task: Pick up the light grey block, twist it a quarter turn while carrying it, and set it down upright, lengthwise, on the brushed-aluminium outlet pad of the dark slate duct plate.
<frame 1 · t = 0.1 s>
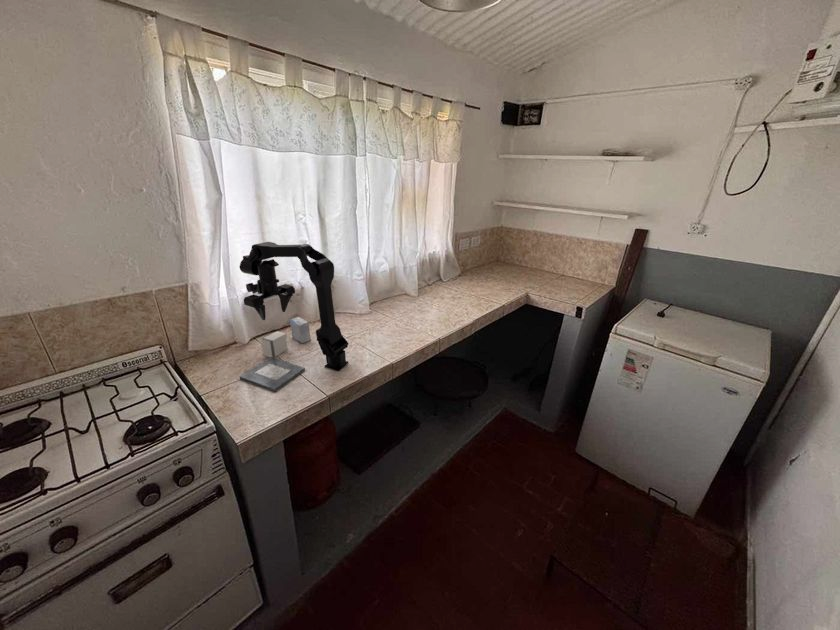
hand: (274, 315, 126), 14 cm above the worktop, fingers open, 9 cm apart
light grey block: (276, 352, 129), on the worktop
medicine box: (301, 339, 140), on the worktop
duct plate: (273, 374, 115), on the worktop
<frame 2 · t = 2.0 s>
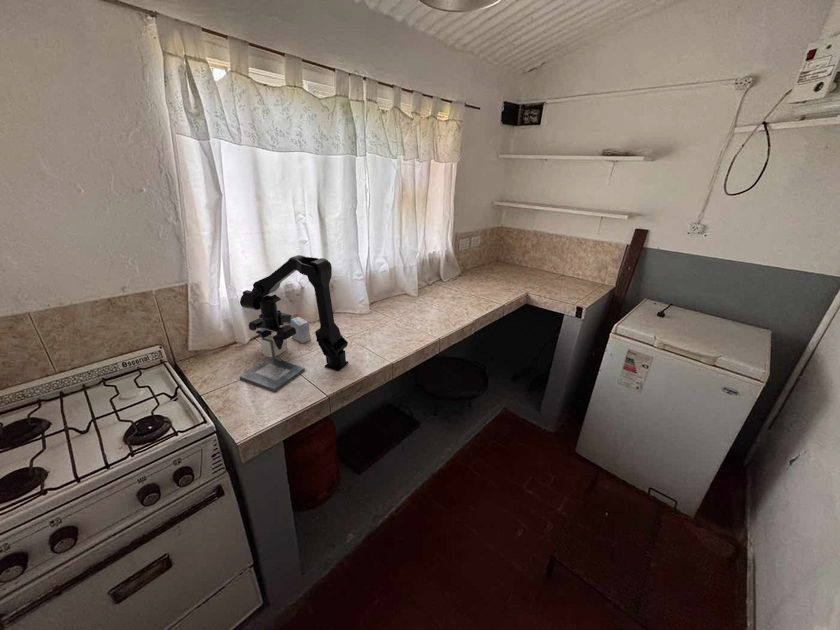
hand: (275, 347, 128), 2 cm above the worktop, fingers closed on light grey block, 4 cm apart
light grey block: (276, 352, 129), on the worktop, touching gripper
everything else where it was.
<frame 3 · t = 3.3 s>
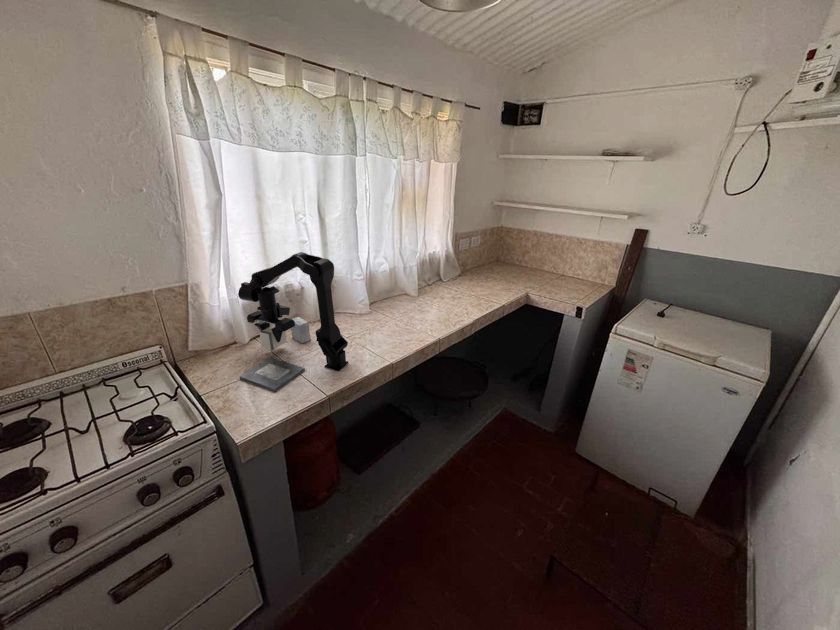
hand: (274, 340, 127), 5 cm above the worktop, fingers closed on light grey block, 4 cm apart
light grey block: (274, 345, 128), point 3 cm above the worktop, touching gripper
everything else where it was.
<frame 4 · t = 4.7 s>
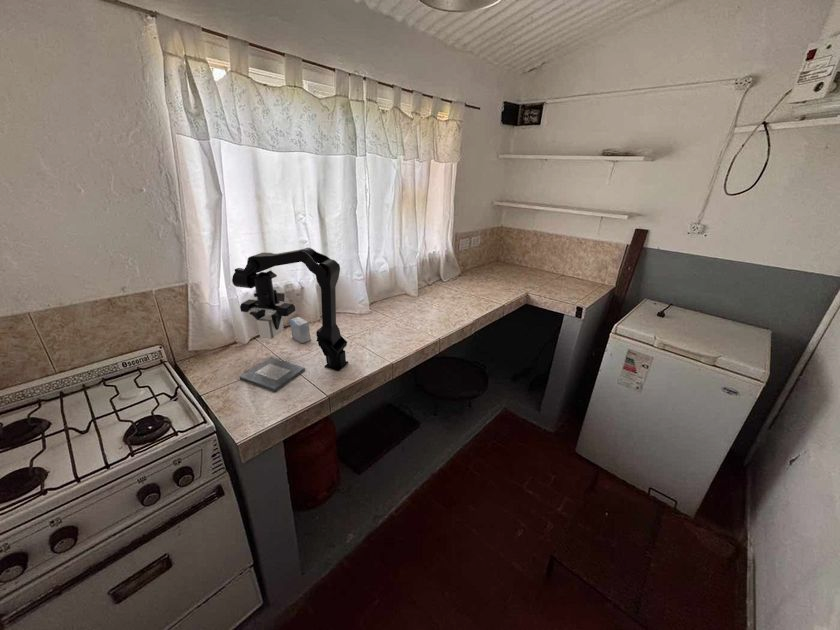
hand: (271, 328, 122), 12 cm above the worktop, fingers closed on light grey block, 4 cm apart
light grey block: (272, 333, 122), point 10 cm above the worktop, touching gripper
everything else where it was.
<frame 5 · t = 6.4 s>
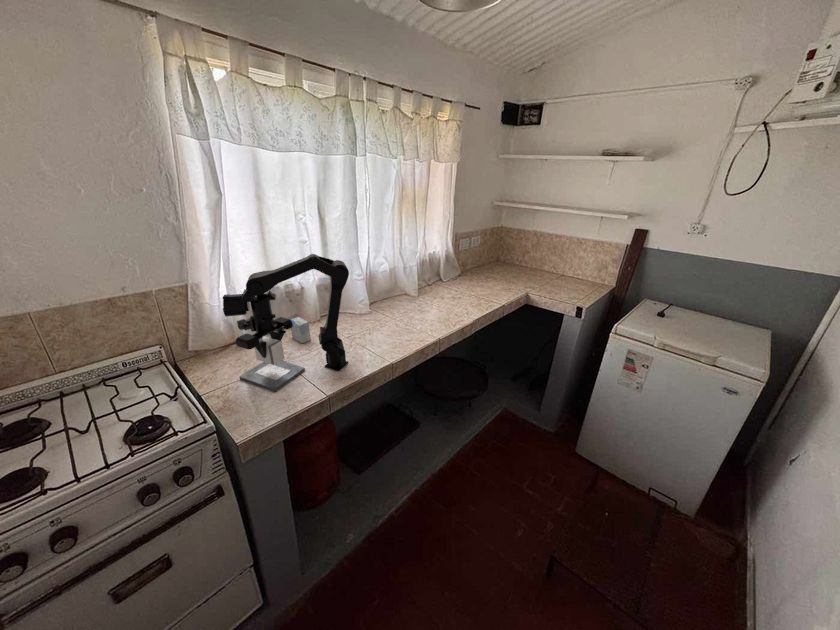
hand: (269, 354, 111), 8 cm above the worktop, fingers closed on light grey block, 4 cm apart
light grey block: (270, 359, 112), point 6 cm above the worktop, touching gripper
everything else where it was.
when the fingers open (4 cm above the worktop, at t = 7.8 s): light grey block drops 1 cm, resting on duct plate.
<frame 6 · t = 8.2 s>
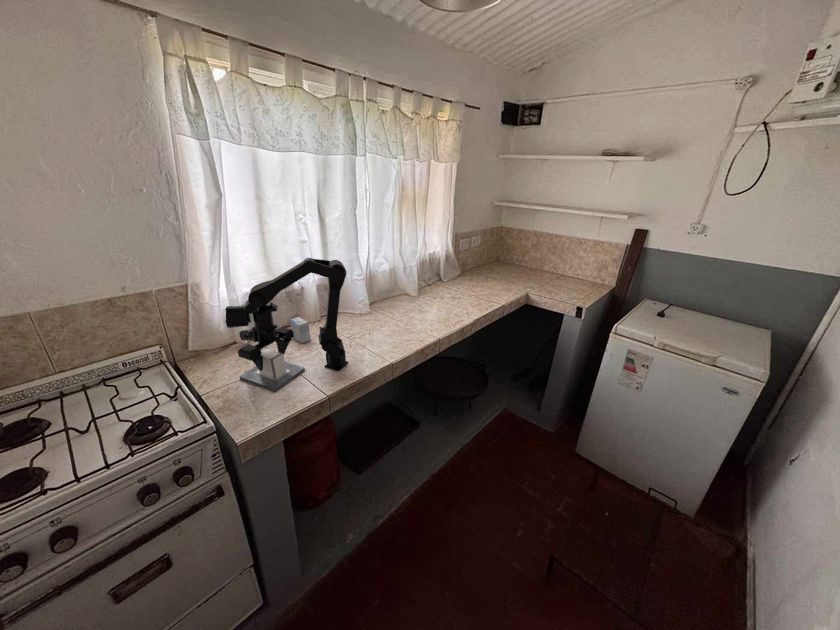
hand: (271, 364, 113), 4 cm above the worktop, fingers open, 9 cm apart
light grey block: (272, 371, 114), point 1 cm above the worktop, touching duct plate
everything else where it was.
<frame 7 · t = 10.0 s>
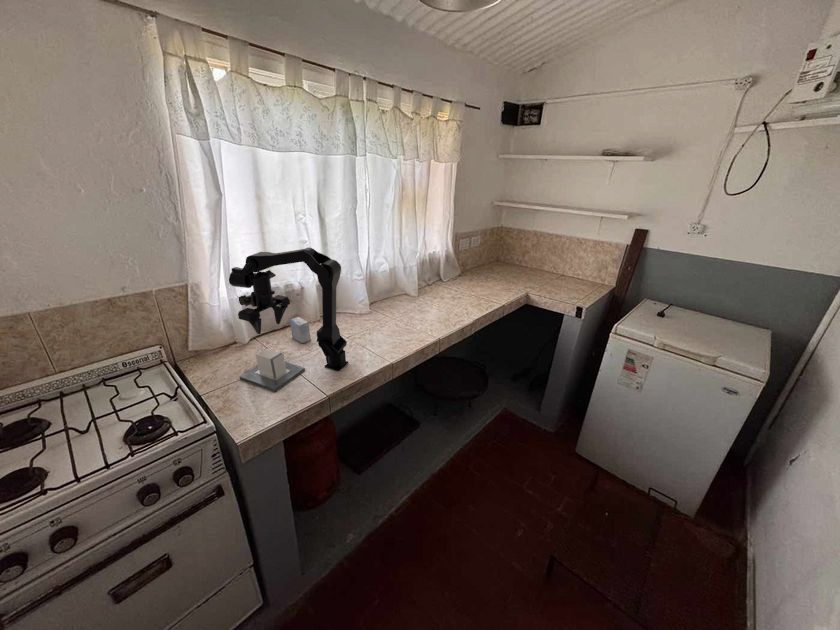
hand: (268, 328, 120), 12 cm above the worktop, fingers open, 9 cm apart
nothing on the worktop moved.
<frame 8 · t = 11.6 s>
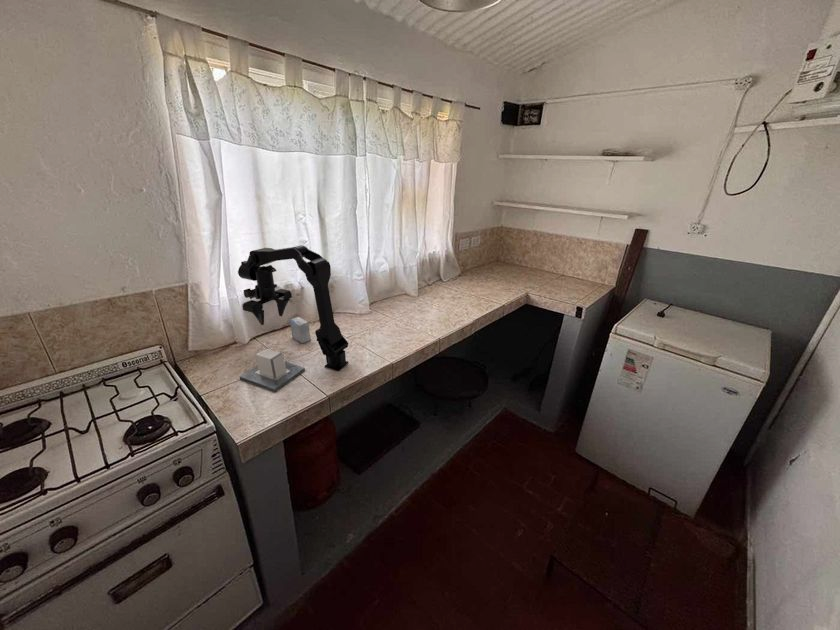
hand: (271, 320, 128), 12 cm above the worktop, fingers open, 9 cm apart
nothing on the worktop moved.
at the end: light grey block 0.0 cm off-centre on the duct plate, point 1.4 cm above the duct plate's base; light grey block tilted 0°; the gripper is holding nothing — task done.
